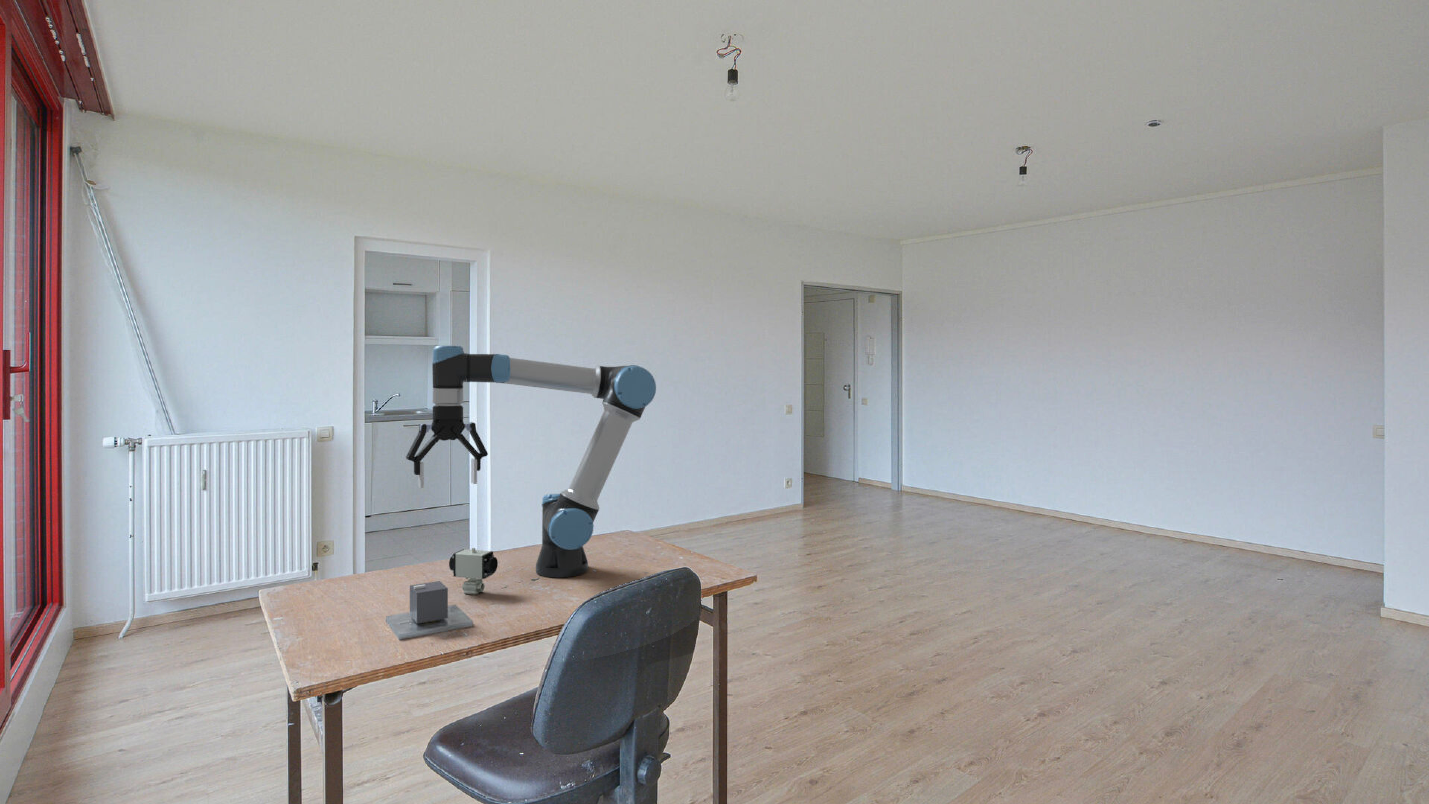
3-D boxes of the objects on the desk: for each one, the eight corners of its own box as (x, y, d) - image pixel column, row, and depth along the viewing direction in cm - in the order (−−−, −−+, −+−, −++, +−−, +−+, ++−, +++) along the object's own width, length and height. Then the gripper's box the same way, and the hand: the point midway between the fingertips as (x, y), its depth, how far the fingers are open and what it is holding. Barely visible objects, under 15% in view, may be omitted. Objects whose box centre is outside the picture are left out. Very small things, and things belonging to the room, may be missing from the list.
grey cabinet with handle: (439, 609, 174) (439, 578, 174) (447, 618, 169) (447, 585, 169) (409, 614, 171) (409, 582, 170) (416, 623, 165) (416, 590, 165)
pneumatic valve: (489, 597, 190) (489, 551, 189) (448, 593, 192) (448, 548, 192) (499, 591, 195) (499, 546, 195) (459, 587, 198) (459, 544, 197)
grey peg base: (455, 609, 180) (455, 580, 180) (472, 626, 169) (472, 595, 168) (385, 621, 171) (385, 590, 171) (399, 639, 160) (399, 607, 159)
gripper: (490, 403, 201) (490, 479, 202) (393, 404, 186) (394, 487, 187) (499, 404, 195) (499, 483, 196) (400, 406, 180) (400, 491, 181)
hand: (447, 485), depth 191 cm, fingers open, 13 cm apart
